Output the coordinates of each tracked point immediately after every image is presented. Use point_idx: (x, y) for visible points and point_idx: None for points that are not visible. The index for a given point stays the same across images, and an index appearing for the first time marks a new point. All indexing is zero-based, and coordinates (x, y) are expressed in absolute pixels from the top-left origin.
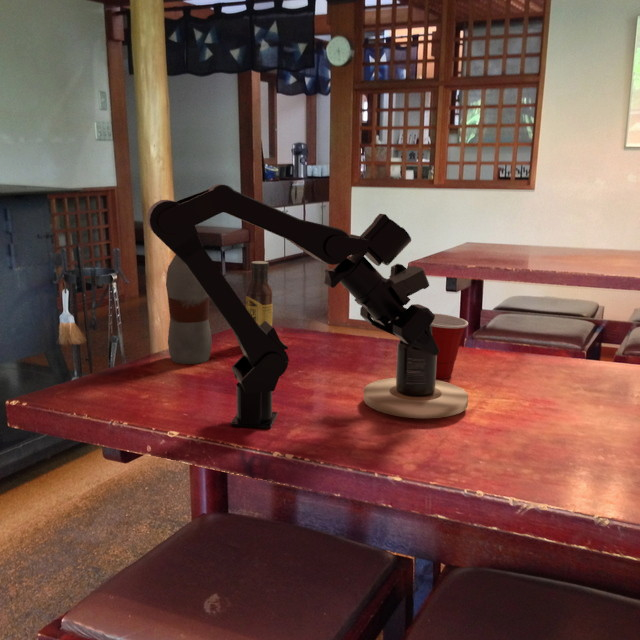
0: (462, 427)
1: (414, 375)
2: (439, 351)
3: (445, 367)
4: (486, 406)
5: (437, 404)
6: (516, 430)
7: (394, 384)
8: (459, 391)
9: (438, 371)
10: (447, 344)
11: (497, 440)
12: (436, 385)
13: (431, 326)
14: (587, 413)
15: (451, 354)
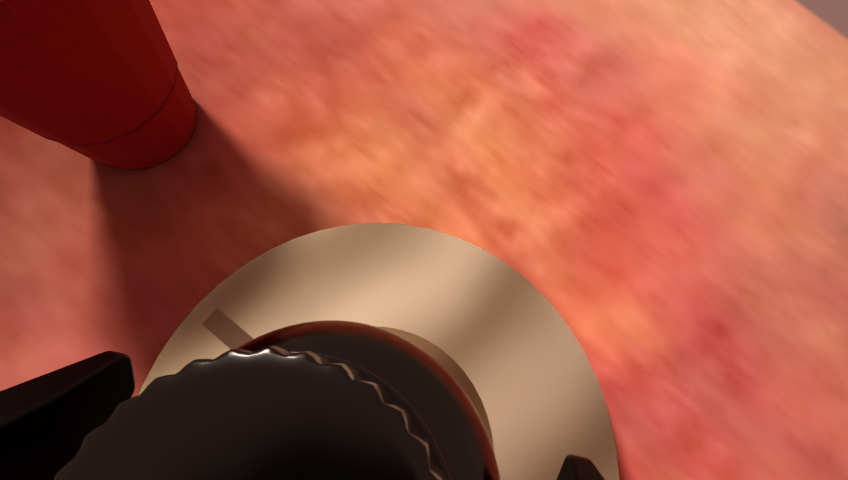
0: (657, 434)
1: None
2: (587, 458)
3: (176, 104)
4: (502, 203)
5: None
6: (736, 278)
7: None
8: (453, 262)
9: (167, 136)
10: (125, 32)
11: (809, 407)
12: (341, 293)
13: (406, 424)
14: (664, 11)
15: (161, 49)
